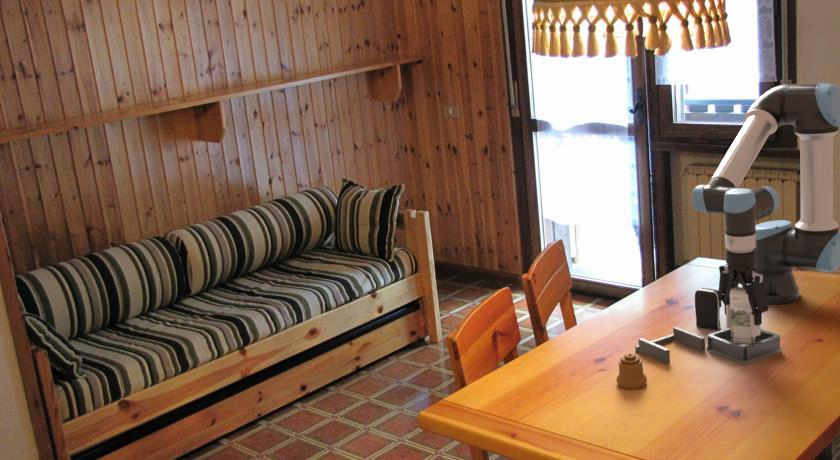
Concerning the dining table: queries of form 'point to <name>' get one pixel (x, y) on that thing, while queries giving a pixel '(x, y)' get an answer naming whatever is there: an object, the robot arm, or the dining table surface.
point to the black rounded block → (707, 308)
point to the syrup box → (740, 317)
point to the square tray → (744, 346)
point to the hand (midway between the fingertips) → (743, 331)
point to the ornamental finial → (631, 372)
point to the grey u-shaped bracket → (679, 336)
